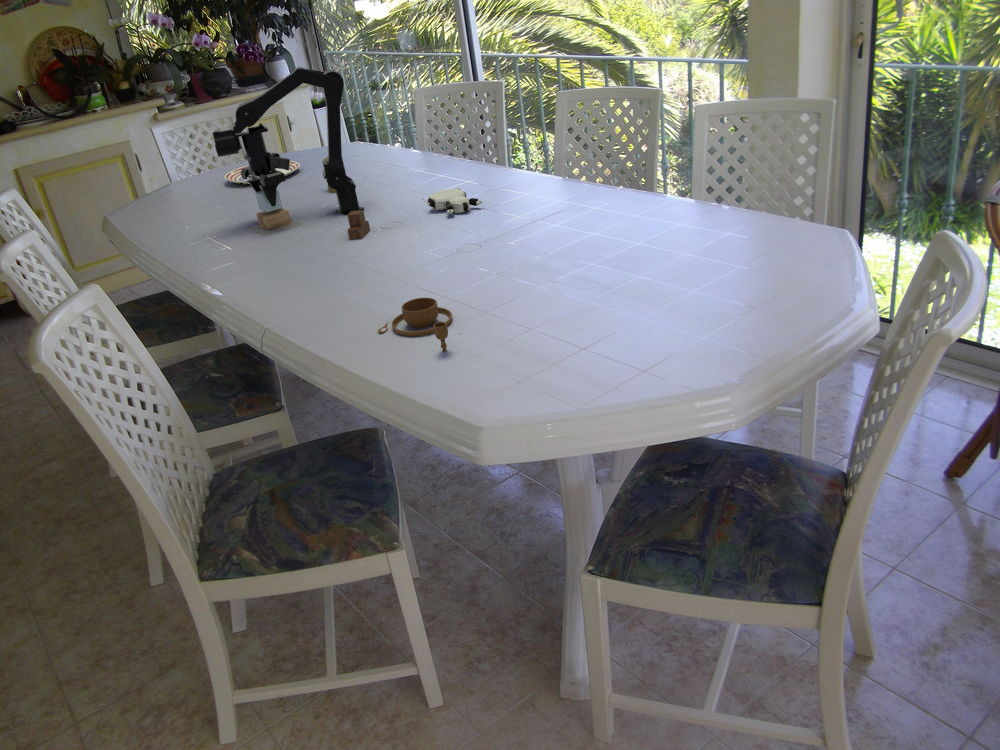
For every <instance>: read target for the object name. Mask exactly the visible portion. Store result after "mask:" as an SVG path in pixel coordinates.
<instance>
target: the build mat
mask: <svg viewBox="0 0 1000 750" xmlns="http://www.w3.org/2000/svg"><path fill="white" fill-rule="evenodd" d="M290 220H291V224H290V225H286V226H283V227H280V228H277V229H273V230H270V231H269V230H266V229H264V228H262V227H260V226H259V223H257V224H254V225H250V226H247V227H245V229H248V230H250V231H252V232H254V233H257V234H259V235H260V236H263V237H265V236H268V235H272V234H275V233H279V232H283V231H284V230H288V229H291V228H295V227H298V226H301V225H303V223H301V222H299V221H296V220H293V219H291V218H290Z"/></svg>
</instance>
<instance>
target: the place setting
mask: <svg viewBox="0 0 1000 750" xmlns="http://www.w3.org/2000/svg"><path fill="white" fill-rule="evenodd" d="M439 314H440V315H445V316H446V317H447V318H448V319H447V320H446V321H439V322H436V323H434V322H435V321H437V319H438V316H439ZM452 320H453V314H452V312H451V311H450V310H449V309H447V308H445V307H441V306H438V302H437V300H436V299H435V298H431V297H418V298H413V299H410V300H408V301H406V302H405V303H403V304H402V305H401V313H400V314H399V315H397V316H396V317H395V318H393V320H392V321H391V328H392V330H393V331H394V332H395V333H396V334H398V335H400V336H404V337H423V336H429V335H432V334H434V336H435V338H436V339H437V340H440V343H441V344H440V348H441V349H442V350H441V351H442V353H445V352H447V351H448V349H447V347H448V345H447V343H446V339H447V338H448V336H449V330H448V329H449V328H448V326H449V325H450V324H451V322H452ZM402 321H405V323H406V324H407V325H410V326H412V327H413V328H414V329H423V328H424V329H423V330H416V331H414V330H413V331H407V330H401V329H399V328H397V327H398V325H399V324H400V323H401V322H402ZM433 323H434V324H433ZM388 325H389V323H385V325H384V326H382V327H381V328H379V329H378V330H377V333H378V334H380V335H381V334H385V333H386V332H387V331H388V330H389V328H388ZM431 325H433V327H431V328H429V326H431ZM425 328H428V329H425ZM382 329H385V330H382ZM460 334H461V335H463V334H462V333H460Z"/></svg>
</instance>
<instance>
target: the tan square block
mask: <svg viewBox="0 0 1000 750" xmlns="http://www.w3.org/2000/svg"><path fill="white" fill-rule="evenodd" d="M256 218H257V223H258V224H259V226H260V227H262V228H264V229H266V230H269V231H270V230H273V229H277V228H280V227H283V226H286V225H290V224H291V220H292V219H291V216H290V213H289V210H287V209H284V208H279V209H276V210H272V211H269V212H265V211H261V212H257V213H256ZM290 219H291V220H290Z"/></svg>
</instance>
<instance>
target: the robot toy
mask: <svg viewBox="0 0 1000 750" xmlns="http://www.w3.org/2000/svg"><path fill="white" fill-rule="evenodd" d="M421 199H422V200H423V201H424V202H425V203H426V204H427V206H429V207H431V208H433V209H434V210H437V211H439V210H441V211H443V210H446V213H447V214H449V215H450V214H453V213H454V212H455V213H454V214H456V213H459V214H463V213H465V211H466V212H468V211H470V208H471V207H470V206H473V207H477V206H479V205H482V204H483V203H484V202H483V200H479V199H478V198H474V197H471V198H470V199H469V198H468V197H467V192H465V191H464V190H462V189H461V188H460V187H459V186H458V187H457V188H447V189H443V190H439V191H436V192H433V193H431V194H430V195H429V196H428V199H427V200H426V199H425V198H424V197H421ZM467 210H468V211H467ZM462 212H463V213H462Z"/></svg>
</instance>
